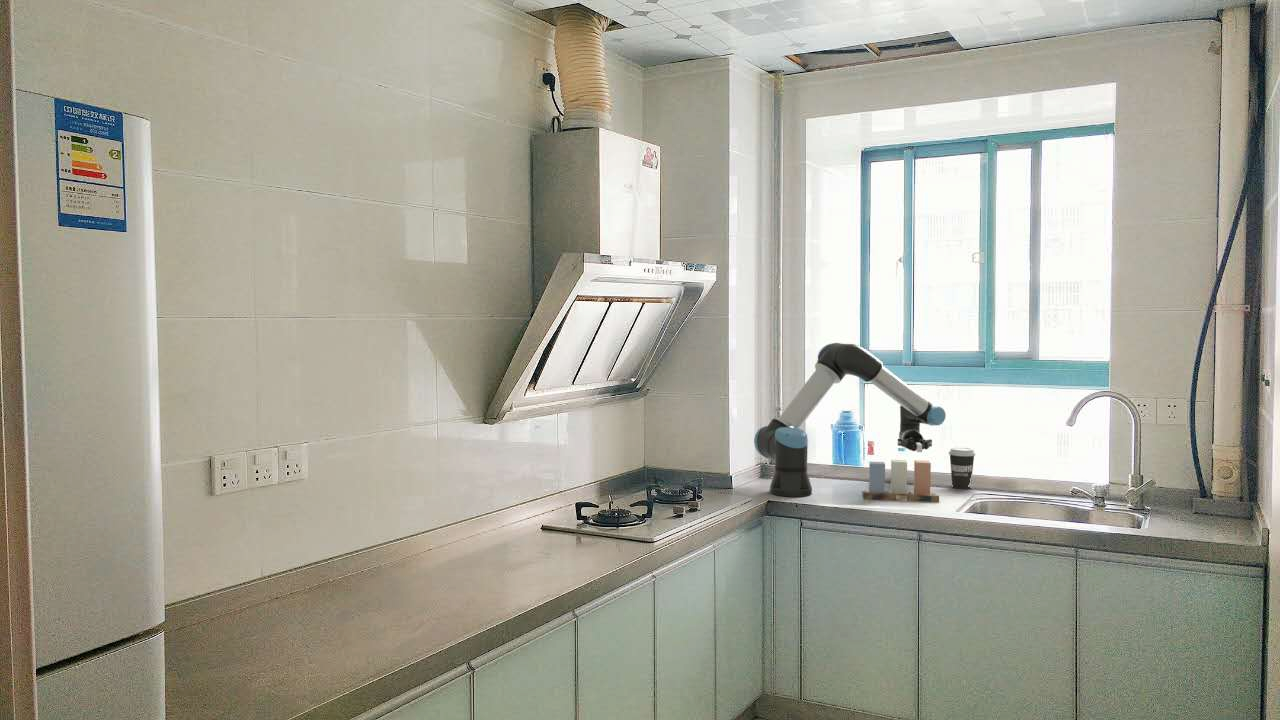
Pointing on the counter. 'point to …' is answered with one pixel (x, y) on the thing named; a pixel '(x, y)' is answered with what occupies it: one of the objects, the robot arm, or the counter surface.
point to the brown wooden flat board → (900, 497)
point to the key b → (899, 476)
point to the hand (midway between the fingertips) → (919, 448)
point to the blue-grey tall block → (876, 477)
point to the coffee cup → (961, 466)
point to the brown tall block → (922, 477)
